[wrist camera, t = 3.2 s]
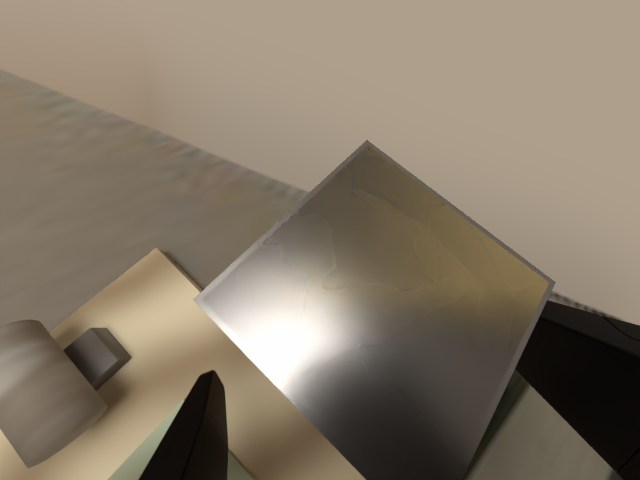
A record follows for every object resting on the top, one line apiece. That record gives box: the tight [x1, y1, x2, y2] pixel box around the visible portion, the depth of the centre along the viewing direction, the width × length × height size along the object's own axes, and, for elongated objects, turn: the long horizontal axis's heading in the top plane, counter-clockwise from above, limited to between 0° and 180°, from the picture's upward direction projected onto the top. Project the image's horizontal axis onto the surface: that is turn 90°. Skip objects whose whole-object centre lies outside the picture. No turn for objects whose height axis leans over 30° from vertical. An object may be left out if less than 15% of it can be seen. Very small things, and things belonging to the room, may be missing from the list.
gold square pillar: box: [193, 140, 555, 480], centre depth 10 cm, size 5×5×13 cm
